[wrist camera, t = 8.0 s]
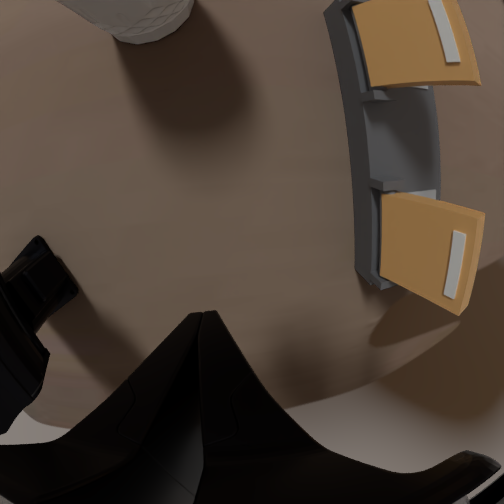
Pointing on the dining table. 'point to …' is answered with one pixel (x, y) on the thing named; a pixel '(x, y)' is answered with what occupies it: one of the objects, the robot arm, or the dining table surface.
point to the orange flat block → (430, 247)
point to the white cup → (133, 17)
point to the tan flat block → (414, 43)
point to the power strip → (381, 140)
